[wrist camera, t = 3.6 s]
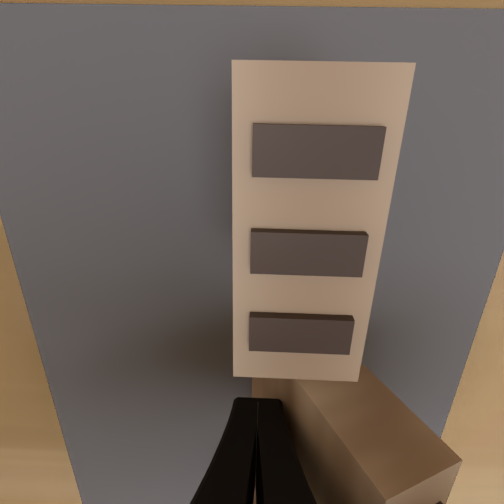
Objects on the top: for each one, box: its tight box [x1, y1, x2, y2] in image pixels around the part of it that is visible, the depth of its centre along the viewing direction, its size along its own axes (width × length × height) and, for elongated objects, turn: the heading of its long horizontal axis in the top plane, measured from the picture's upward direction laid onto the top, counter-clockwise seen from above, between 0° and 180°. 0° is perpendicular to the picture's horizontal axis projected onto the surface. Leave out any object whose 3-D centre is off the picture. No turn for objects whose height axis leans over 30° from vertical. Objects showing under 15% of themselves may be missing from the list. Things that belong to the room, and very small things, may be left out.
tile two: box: [252, 362, 462, 504], centre depth 10 cm, size 2×4×6 cm, turn 0°
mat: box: [0, 3, 504, 504], centre depth 13 cm, size 16×22×1 cm
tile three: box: [232, 60, 416, 382], centre depth 7 cm, size 2×4×6 cm, turn 179°
